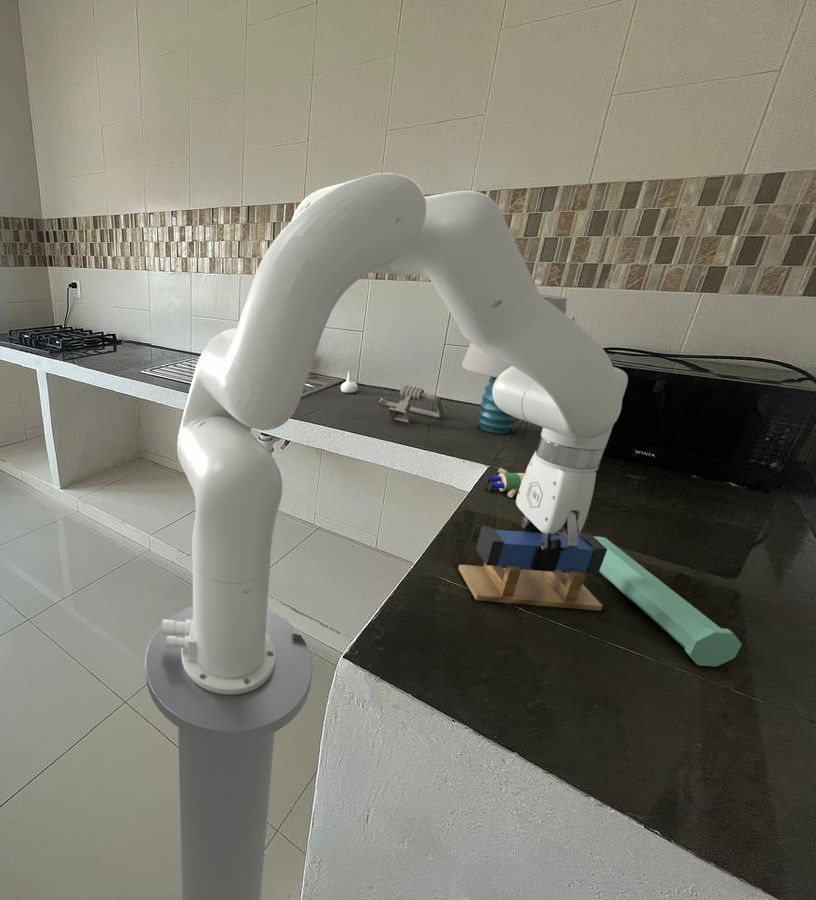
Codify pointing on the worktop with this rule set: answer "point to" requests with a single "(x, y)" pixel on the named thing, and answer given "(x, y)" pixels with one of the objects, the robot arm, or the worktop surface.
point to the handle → (523, 545)
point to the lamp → (490, 366)
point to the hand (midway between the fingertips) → (534, 559)
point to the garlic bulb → (349, 385)
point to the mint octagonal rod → (669, 609)
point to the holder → (529, 587)
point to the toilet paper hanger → (404, 406)
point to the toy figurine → (506, 482)
